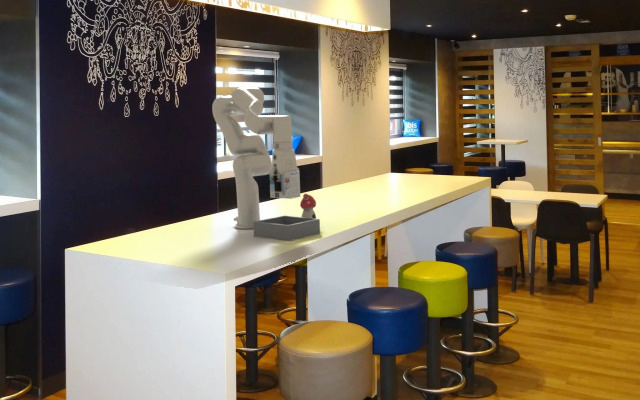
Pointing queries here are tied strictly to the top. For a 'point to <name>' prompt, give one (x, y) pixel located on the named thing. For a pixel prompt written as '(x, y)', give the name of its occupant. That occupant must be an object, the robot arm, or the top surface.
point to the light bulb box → (287, 185)
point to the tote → (286, 227)
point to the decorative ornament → (308, 206)
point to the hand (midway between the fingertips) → (285, 190)
